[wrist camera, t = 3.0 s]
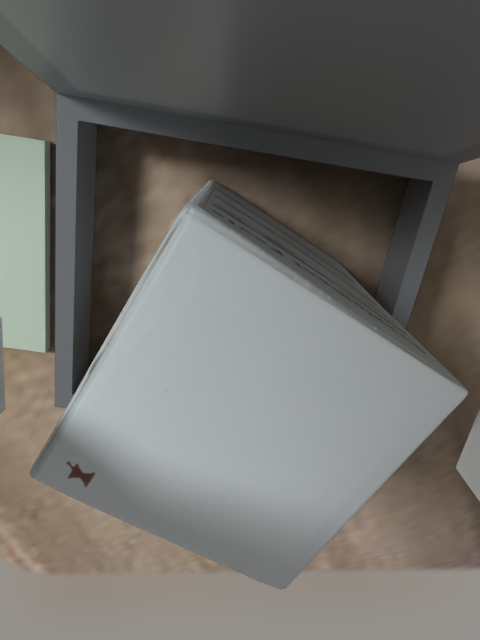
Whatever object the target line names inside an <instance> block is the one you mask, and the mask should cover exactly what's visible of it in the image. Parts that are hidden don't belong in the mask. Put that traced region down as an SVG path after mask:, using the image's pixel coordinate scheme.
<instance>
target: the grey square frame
mask: <svg viewBox="0 0 480 640" xmlns="http://www.w3.org/2000/svg"><path fill="white" fill-rule="evenodd" d="M97 125H102V126H108V127H114V128H119V129H125V130H131V131H137V132H143V133H149V134H154V135H160V136H166V137H172V138H178V139H183V140H189V141H195V142H201V143H207V144H213V145H218V146H224V147H230V148H236V149H242V150H247V151H253V152H259V153H265V154H271V155H277V156H282V157H288V158H294V159H300V160H306V161H311V162H317V163H323V164H329V165H335V166H340V167H346V168H352V169H358V170H364V171H370V172H375V173H381V174H387V175H393V176H399V177H404V178H409V181H408V185H407V188H406V192H405V195H404V199H403V202H402V206H401V209H400V213H399V216H398V220H397V223H396V227H395V230H394V233H393V237H392V240H391V244H390V247H389V251H388V254H387V258H386V261H385V265H384V268H383V272H382V275H381V279H380V282H379V286H378V289H377V293H376V296H375V300H376V301H377V302H378V303H379V304H380V305H381V306H382V307H383V308H384V309H385V310H386V311H387V312H388V313H389V314H390V315H391V316H392V317H393V318H394V319H395V320H396V321H397V322H398V323H400V324H401V325H402V326H403V327H404V328H405V329H406V327H407V324H408V321H409V318H410V315H411V312H412V309H413V306H414V302H415V299H416V296H417V293H418V290H419V287H420V284H421V281H422V278H423V275H424V271H425V268H426V265H427V262H428V259H429V256H430V253H431V250H432V247H433V243H434V240H435V237H436V234H437V231H438V228H439V225H440V222H441V219H442V216H443V212H444V209H445V206H446V203H447V200H448V197H449V194H450V191H451V188H452V185H453V181H454V178H455V175H456V172H457V169H458V166H459V164H458V163H452V162H446V161H441V160H435V159H429V158H424V157H418V156H412V155H407V154H401V153H395V152H390V151H384V150H378V149H373V148H367V147H361V146H355V145H350V144H344V143H338V142H333V141H327V140H321V139H316V138H310V137H304V136H299V135H293V134H287V133H282V132H276V131H270V130H265V129H259V128H253V127H247V126H242V125H236V124H230V123H225V122H219V121H213V120H208V119H202V118H196V117H191V116H185V115H179V114H174V113H168V112H162V111H156V110H151V109H145V108H139V107H134V106H128V105H122V104H117V103H111V102H105V101H100V100H94V99H88V98H83V97H77V96H71V95H66V94H60V93H56V247H55V407H61V408H67V406H68V404H69V403H70V401H71V399H72V397H73V396H74V394H75V392H76V390H77V389H78V387H79V385H80V383H81V382H82V380H83V378H84V376H85V374H86V373H87V371H88V369H89V345H90V318H91V290H92V263H93V235H94V208H95V180H96V153H97Z"/></svg>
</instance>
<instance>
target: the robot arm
mask: <svg viewBox="0 0 480 640" xmlns="http://www.w3.org/2000/svg"><path fill="white" fill-rule="evenodd" d="M4 410H5V389H4V360H3V332H2V317H0V414H1V413H2V412H3V411H4ZM456 469H457V471H458V472H459V473H460V475H461V476H462V478H463V479H464V480H465V482H466V483H467V485H468V486H469V487H470V489H471V490H472V491H473V493H474V494H475V496H476V497H477V498H478V500H479V501H480V409H479V411H478V414H477V416H476V419H475V421H474V424H473V426H472V429H471V431H470V434H469V436H468V439H467V441H466V443H465V446H464V448H463V451H462V453H461V456H460V458H459V461H458V463H457V466H456Z"/></svg>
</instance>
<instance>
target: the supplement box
mask: <svg viewBox="0 0 480 640" xmlns="http://www.w3.org/2000/svg"><path fill="white" fill-rule="evenodd" d="M467 395H468V390H466V389H465V387H464V386H463V385H462V384H461V383H460V382H459V381H458V380H457V379H456V378H455V377H454V376H453V375H452V374H451V373H450V372H449V371H448V370H447V369H446V368H445V367H444V366H443V365H442V364H441V363H440V362H439V361H438V360H436V359H435V358H434V357H433V356H432V355H431V354H430V353H429V352H428V351H427V350H426V349H425V348H424V347H423V346H422V345H421V344H420V343H419V342H418V341H417V340H416V339H415V338H414V337H413V336H412V335H411V334H410V333H409V332H408V331H407V330H406V329H405V328H404V327H403V326H402V325H401V324H400V323H398V322H397V321H396V320H395V319H394V318H393V317H392V316H391V315H390V314H389V313H388V312H387V311H386V310H385V309H384V308H383V307H382V306H381V305H380V304H379V303H378V302H377V301H376V300H375V299H374V298H373V297H372V296H371V295H370V294H369V293H368V292H367V291H366V290H365V289H364V288H363V287H362V286H361V285H360V284H359V283H358V282H357V281H356V280H355V279H354V278H353V277H352V276H351V275H350V274H349V272H348V271H347V270H346V269H345V268H344V267H343V266H342V265H341V264H340V263H339V262H337V261H336V260H335V259H333V258H331V257H330V256H328V255H327V254H325V253H324V252H322V251H321V250H319V249H318V248H316V247H315V246H313V245H312V244H310V243H309V242H307V241H306V240H304V239H303V238H301V237H300V236H298V235H297V234H295V233H294V232H292V231H291V230H289V229H288V228H286V227H285V226H283V225H282V224H280V223H279V222H277V221H276V220H274V219H273V218H271V217H270V216H268V215H267V214H265V213H264V212H262V211H261V210H259V209H258V208H256V207H255V206H253V205H252V204H250V203H249V202H247V201H245V200H244V199H242V198H241V197H239V196H238V195H236V194H235V193H233V192H232V191H230V190H229V189H227V188H225V187H224V186H222V185H221V184H219V183H218V182H216V181H214V180H209V181H208V182H207V184H206V185H205V186H204V187H203V188H202V189H201V190H200V191H199V192H198V193H197V194H196V195H194V196H193V197H192V198H191V199H190V200H189V201H188V202H187V204H186V205H185V206H184V208H183V209H182V210H181V212H180V213H179V215H178V217H177V218H176V220H175V222H174V223H173V225H172V227H171V229H170V230H169V232H168V234H167V235H166V237H165V239H164V240H163V242H162V244H161V245H160V247H159V249H158V250H157V252H156V254H155V255H154V257H153V259H152V260H151V262H150V263H149V265H148V267H147V268H146V270H145V272H144V273H143V275H142V277H141V279H140V280H139V282H138V284H137V285H136V287H135V289H134V291H133V292H132V294H131V296H130V298H129V299H128V301H127V303H126V305H125V306H124V308H123V310H122V311H121V313H120V315H119V317H118V318H117V320H116V322H115V324H114V325H113V327H112V329H111V331H110V332H109V334H108V336H107V337H106V339H105V341H104V343H103V345H102V346H101V348H100V350H99V352H98V353H97V355H96V357H95V358H94V360H93V362H92V364H91V365H90V367H89V369H88V371H87V373H86V374H85V376H84V378H83V380H82V382H81V383H80V385H79V387H78V389H77V390H76V392H75V394H74V396H73V397H72V399H71V401H70V403H69V404H68V406H67V408H66V410H65V411H64V413H63V415H62V417H61V418H60V420H59V422H58V424H57V425H56V427H55V429H54V431H53V432H52V434H51V436H50V438H49V439H48V441H47V443H46V444H45V446H44V448H43V450H42V451H41V453H40V455H39V456H38V458H37V460H36V461H35V463H34V465H33V466H32V468H31V470H30V475H31V477H32V478H34V479H36V480H38V481H41V482H43V483H45V484H47V485H49V486H50V487H52V488H54V489H56V490H58V491H60V492H62V493H64V494H66V495H68V496H70V497H72V498H74V499H77V500H79V501H81V502H83V503H85V504H87V505H90V506H92V507H94V508H96V509H98V510H100V511H103V512H105V513H107V514H109V515H112V516H114V517H116V518H118V519H121V520H123V521H125V522H127V523H130V524H132V525H134V526H136V527H139V528H141V529H143V530H145V531H147V532H150V533H152V534H154V535H156V536H159V537H161V538H164V539H166V540H168V541H170V542H172V543H175V544H177V545H179V546H181V547H183V548H186V549H188V550H190V551H192V552H194V553H197V554H199V555H201V556H203V557H206V558H208V559H210V560H212V561H215V562H217V563H219V564H222V565H224V566H226V567H229V568H231V569H233V570H235V571H237V572H239V573H242V574H244V575H246V576H248V577H250V578H252V579H255V580H257V581H260V582H262V583H264V584H267V585H270V586H273V587H275V588H279V589H284V588H286V587H287V586H288V585H289V584H290V583H291V582H292V581H293V580H294V579H295V578H296V577H297V576H298V575H299V574H300V572H301V571H302V570H303V569H304V568H305V567H306V566H307V565H308V563H309V562H310V561H311V560H312V559H313V558H314V557H315V556H316V555H317V554H318V553H319V552H320V551H321V550H322V549H323V547H324V546H325V545H326V544H327V543H328V542H329V541H330V540H331V539H332V538H333V537H334V536H335V535H336V534H337V532H338V531H339V530H340V529H341V528H342V527H343V526H344V525H345V524H346V523H347V522H348V521H349V520H350V519H351V518H352V517H353V516H354V515H355V514H356V512H357V511H358V510H359V509H360V508H361V507H362V506H363V505H364V504H365V503H366V502H367V501H368V500H369V499H370V498H371V497H372V496H373V494H374V493H375V492H376V491H377V490H378V489H379V488H380V487H381V486H382V485H383V484H384V483H385V482H386V481H387V480H388V479H389V478H390V476H391V475H392V474H393V473H394V472H395V471H396V470H397V469H398V468H399V467H400V466H401V465H402V464H403V463H404V462H405V461H406V459H407V458H408V457H409V456H410V455H411V454H412V453H413V452H414V451H415V450H416V449H417V448H418V447H419V446H420V445H421V444H422V443H423V442H424V441H425V440H426V439H427V437H428V436H429V435H430V434H431V433H432V432H433V431H434V430H435V429H436V428H437V427H438V426H439V425H440V424H441V423H442V422H443V420H444V419H445V418H446V417H447V416H448V415H449V414H450V413H451V412H452V411H453V410H454V409H455V408H456V407H457V406H458V405H459V404H460V403H461V402H462V401H463V400H464V399H465V398H466V396H467Z"/></svg>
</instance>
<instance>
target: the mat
mask: <svg viewBox="0 0 480 640" xmlns="http://www.w3.org/2000/svg"><path fill="white" fill-rule="evenodd" d="M0 317H2V332H3V347H6V348H14V349H21V350H29V351H36V352H44V353H46V352H47V351H48V350H49V349H50V141H44V140H38V139H32V138H26V137H20V136H14V135H8V134H2V133H0Z"/></svg>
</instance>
